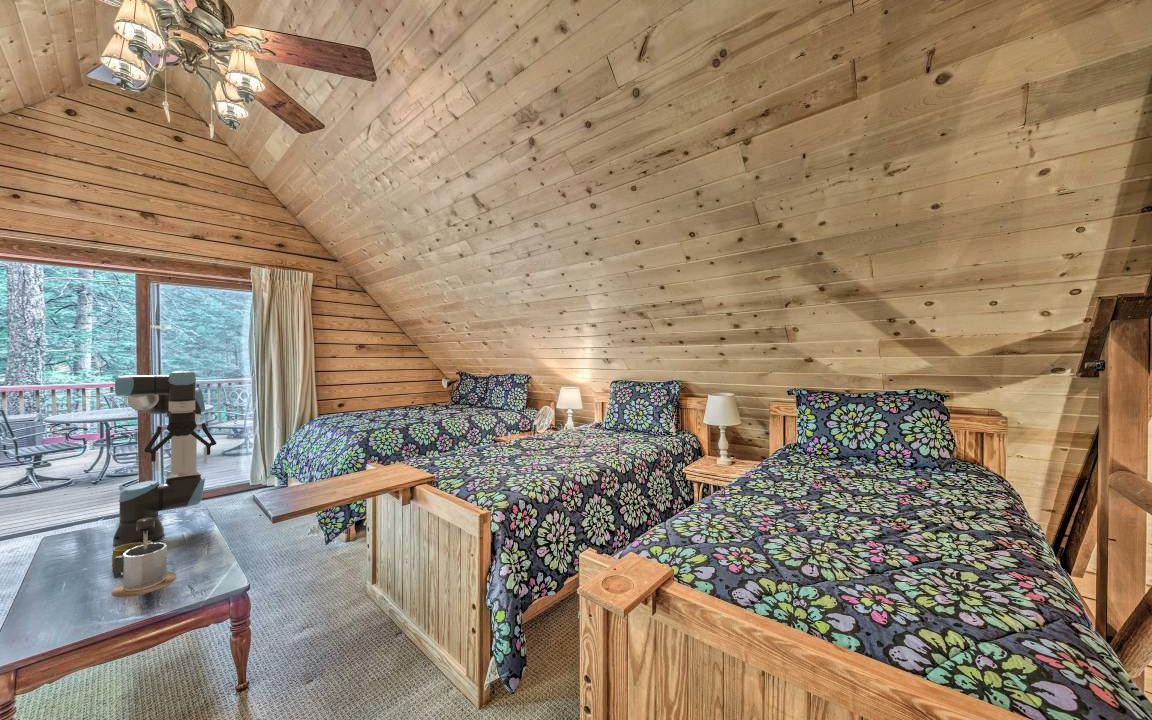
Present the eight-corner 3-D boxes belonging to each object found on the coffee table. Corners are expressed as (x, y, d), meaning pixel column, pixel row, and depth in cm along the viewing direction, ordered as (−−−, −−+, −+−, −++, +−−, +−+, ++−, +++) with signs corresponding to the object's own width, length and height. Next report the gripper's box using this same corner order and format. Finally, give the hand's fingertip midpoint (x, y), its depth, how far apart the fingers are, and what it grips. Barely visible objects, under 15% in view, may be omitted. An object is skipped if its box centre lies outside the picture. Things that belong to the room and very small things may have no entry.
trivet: (129, 577, 152) (129, 575, 152) (185, 570, 158) (185, 568, 158) (98, 602, 137) (98, 600, 137) (162, 593, 143) (162, 592, 143)
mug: (123, 572, 151) (124, 543, 154) (102, 577, 153) (103, 548, 156) (163, 563, 163) (163, 536, 165) (143, 567, 165) (144, 541, 167)
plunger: (137, 572, 149) (138, 517, 149) (164, 569, 152) (164, 514, 151) (125, 583, 142) (125, 525, 142) (152, 579, 145) (153, 522, 145)
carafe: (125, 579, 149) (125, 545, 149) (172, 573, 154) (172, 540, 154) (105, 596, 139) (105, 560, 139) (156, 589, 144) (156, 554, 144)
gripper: (135, 415, 151) (134, 474, 152) (225, 410, 169) (224, 463, 170) (135, 413, 156) (134, 470, 157) (222, 408, 174) (222, 459, 175)
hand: (181, 466), depth 163 cm, fingers open, 13 cm apart
